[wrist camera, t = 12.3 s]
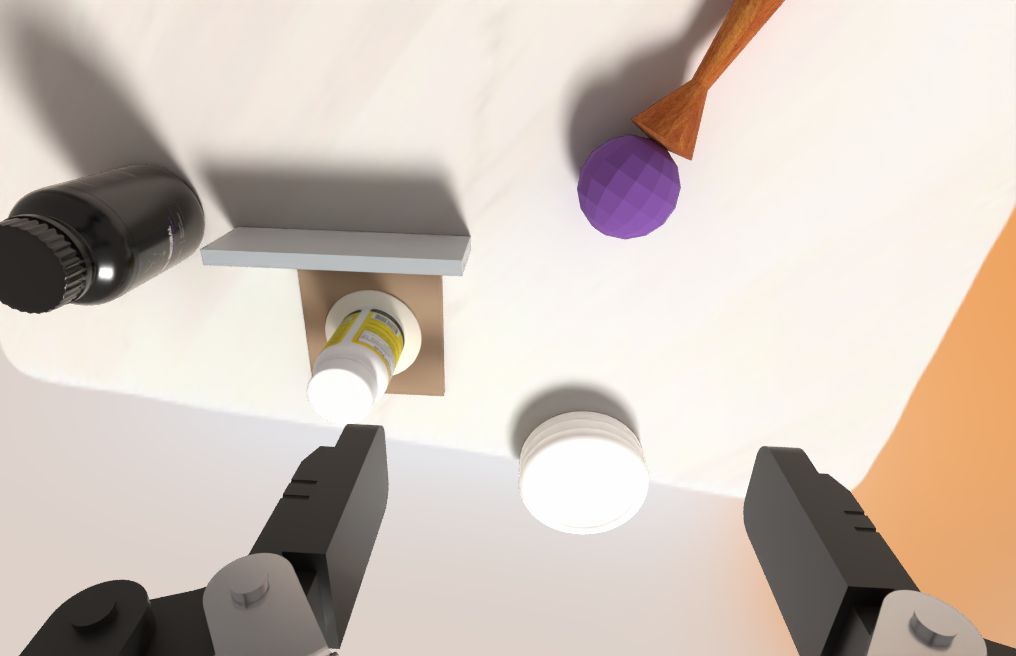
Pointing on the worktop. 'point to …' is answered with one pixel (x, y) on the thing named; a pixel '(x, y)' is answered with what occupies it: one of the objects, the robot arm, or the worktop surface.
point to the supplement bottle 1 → (96, 237)
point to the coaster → (582, 473)
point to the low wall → (340, 251)
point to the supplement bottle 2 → (356, 365)
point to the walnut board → (397, 293)
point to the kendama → (661, 140)
